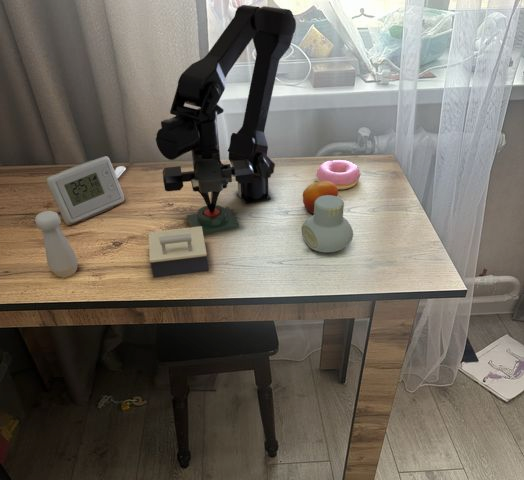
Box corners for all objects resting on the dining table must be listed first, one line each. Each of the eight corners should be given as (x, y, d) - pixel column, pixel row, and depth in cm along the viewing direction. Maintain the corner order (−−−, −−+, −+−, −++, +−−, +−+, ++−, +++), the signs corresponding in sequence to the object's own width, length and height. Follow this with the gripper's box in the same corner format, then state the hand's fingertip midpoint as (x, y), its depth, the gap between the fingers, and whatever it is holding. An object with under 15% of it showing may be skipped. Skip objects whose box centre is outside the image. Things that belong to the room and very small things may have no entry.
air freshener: (297, 237, 110) (298, 194, 103) (330, 228, 112) (333, 185, 105) (321, 262, 103) (324, 219, 96) (356, 252, 105) (361, 209, 98)
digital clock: (65, 229, 115) (51, 186, 107) (52, 211, 120) (38, 169, 112) (131, 208, 121) (123, 166, 113) (117, 192, 126) (107, 151, 118)
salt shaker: (55, 264, 105) (33, 207, 96) (82, 262, 105) (64, 205, 96) (49, 281, 101) (26, 223, 91) (78, 279, 101) (58, 221, 92)
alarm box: (228, 211, 119) (227, 199, 117) (239, 228, 113) (238, 216, 111) (187, 219, 116) (185, 208, 114) (196, 237, 111) (194, 225, 109)
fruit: (319, 219, 112) (310, 183, 110) (302, 222, 119) (294, 188, 117) (349, 210, 115) (341, 174, 112) (331, 213, 122) (323, 180, 120)
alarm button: (217, 213, 115) (217, 206, 114) (222, 220, 113) (221, 213, 112) (202, 216, 115) (201, 209, 113) (207, 224, 112) (206, 217, 111)
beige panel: (206, 255, 98) (204, 237, 96) (150, 262, 97) (146, 244, 94) (201, 228, 106) (199, 210, 103) (149, 234, 105) (145, 216, 102)
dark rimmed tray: (208, 271, 102) (206, 254, 99) (153, 278, 100) (150, 261, 98) (204, 244, 109) (202, 228, 106) (152, 250, 108) (149, 234, 105)
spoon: (132, 168, 136) (131, 166, 136) (107, 200, 124) (107, 198, 123) (113, 167, 137) (112, 165, 137) (87, 199, 124) (86, 197, 124)
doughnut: (320, 170, 133) (321, 154, 130) (362, 174, 130) (364, 158, 128) (311, 189, 125) (312, 173, 122) (356, 194, 123) (358, 178, 120)
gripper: (159, 163, 95) (171, 235, 106) (256, 153, 97) (259, 225, 108) (157, 139, 103) (169, 209, 114) (247, 131, 105) (250, 200, 116)
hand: (211, 211), depth 113 cm, fingers closed, pressing on alarm button
